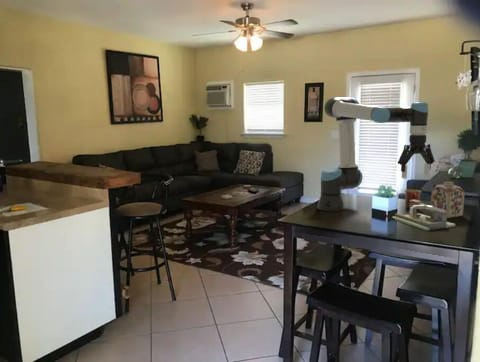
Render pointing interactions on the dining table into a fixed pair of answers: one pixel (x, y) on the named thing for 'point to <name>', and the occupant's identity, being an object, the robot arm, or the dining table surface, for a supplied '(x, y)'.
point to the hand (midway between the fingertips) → (415, 177)
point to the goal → (434, 224)
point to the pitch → (418, 221)
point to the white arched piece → (418, 205)
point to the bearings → (441, 216)
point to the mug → (411, 196)
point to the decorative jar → (448, 199)
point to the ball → (422, 218)
